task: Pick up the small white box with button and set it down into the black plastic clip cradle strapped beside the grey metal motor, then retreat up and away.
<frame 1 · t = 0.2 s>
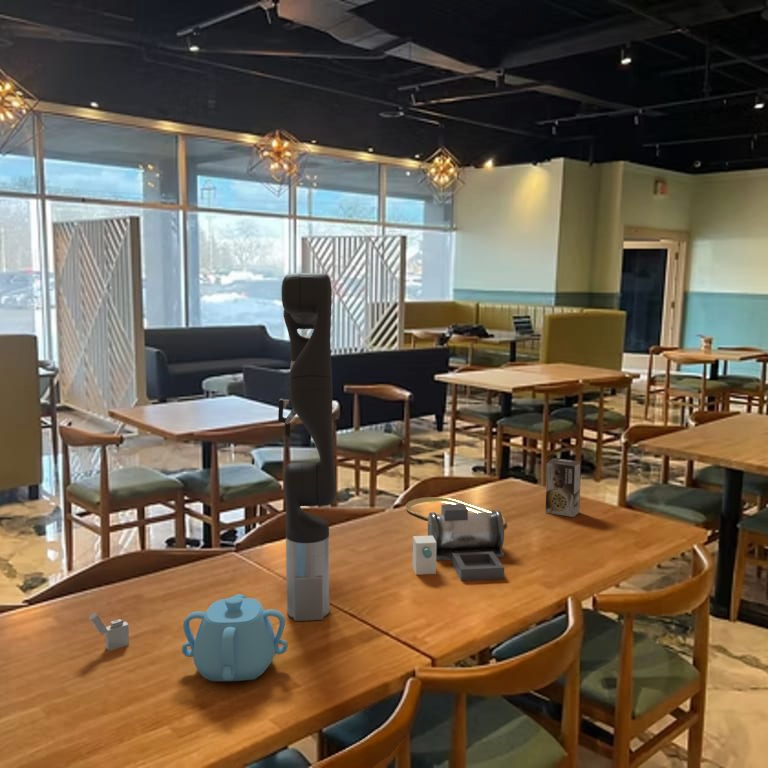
hand: (305, 436, 204), 29 cm above the table, tool pointing down, fingers open, 8 cm apart
motor: (464, 550, 201), on the table
clip cradle: (477, 570, 187), on the table
lighter: (110, 649, 148), on the table
decorative pot: (235, 668, 141), on the table
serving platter: (453, 518, 229), on the table
coffee box: (562, 513, 233), on the table
white box with button: (424, 570, 187), on the table
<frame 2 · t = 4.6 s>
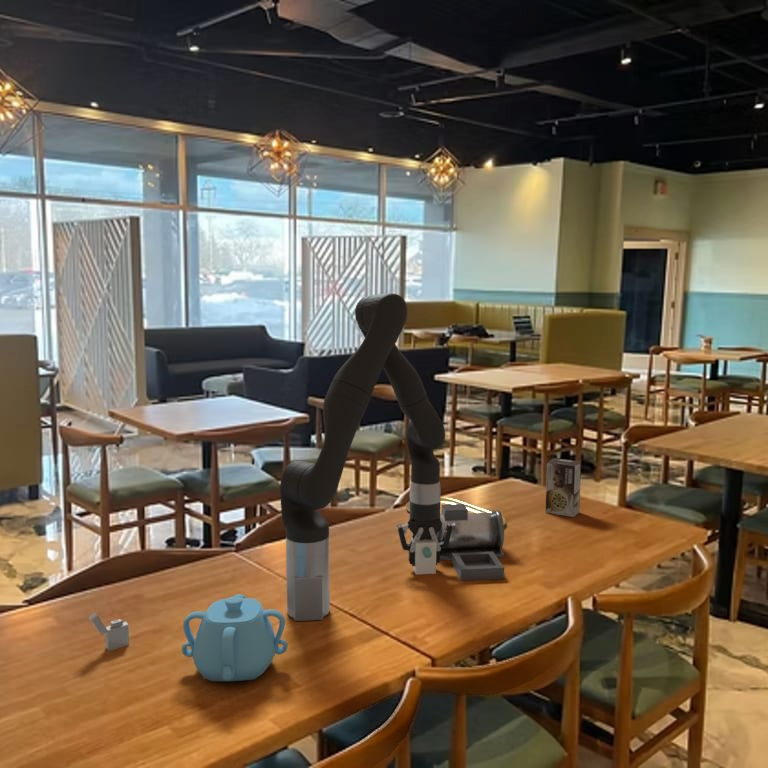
hand: (424, 564, 187), 1 cm above the table, tool pointing down, fingers closed on white box with button, 5 cm apart
white box with button: (424, 570, 187), on the table, touching gripper
everything else where it was.
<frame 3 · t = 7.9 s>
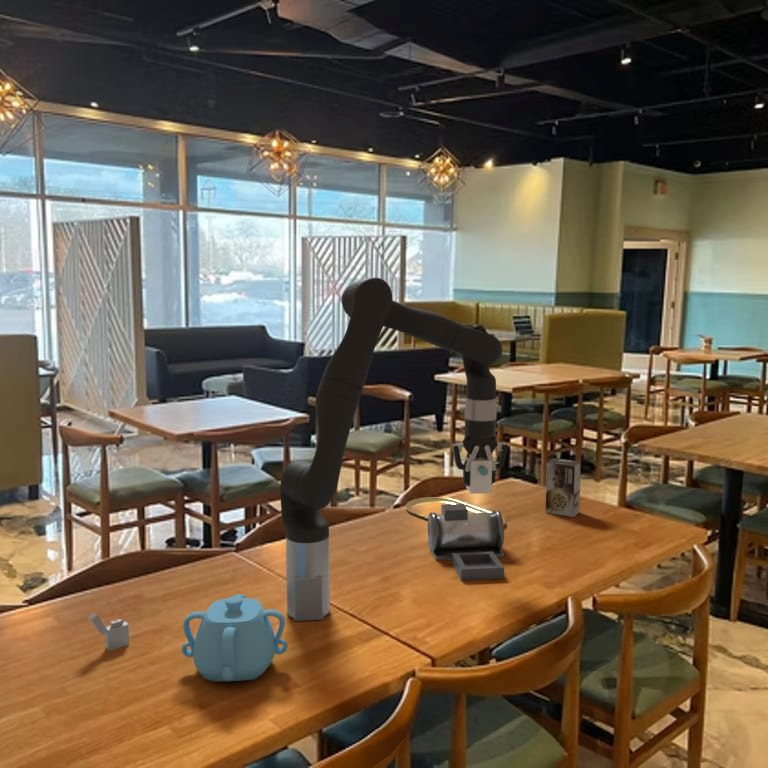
hand: (478, 484, 184), 22 cm above the table, tool pointing down, fingers closed on white box with button, 5 cm apart
white box with button: (478, 490, 184), point 21 cm above the table, touching gripper
everything else where it was.
when the fingers open (4 cm above the table, at t = 11.1 s): white box with button drops 1 cm, resting on clip cradle.
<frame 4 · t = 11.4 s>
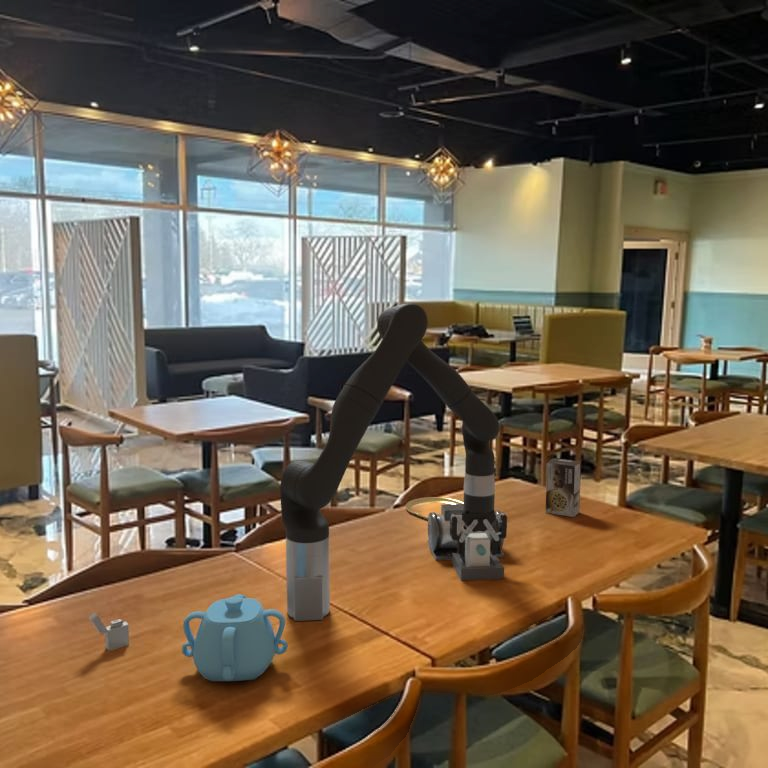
hand: (477, 554, 186), 4 cm above the table, tool pointing down, fingers open, 7 cm apart
white box with button: (477, 567, 187), point 1 cm above the table, touching clip cradle
everything else where it was.
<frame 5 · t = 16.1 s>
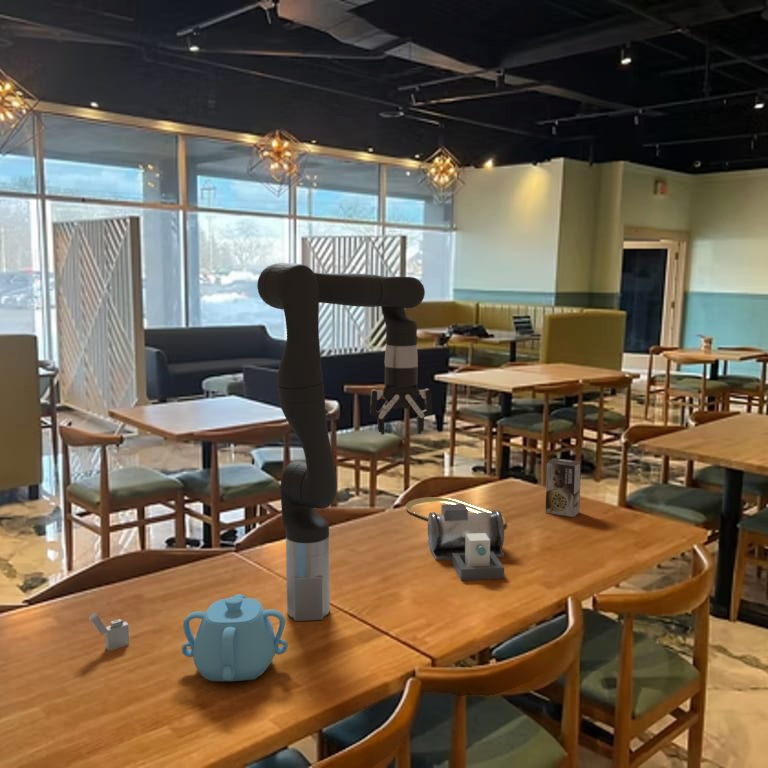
hand: (400, 433, 175), 36 cm above the table, tool pointing down, fingers open, 8 cm apart
nothing on the table moved.
at the end: white box with button 0.1 cm off-centre on the clip cradle, point 0.8 cm above the clip cradle's base; white box with button tilted 0°; the gripper is holding nothing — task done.
